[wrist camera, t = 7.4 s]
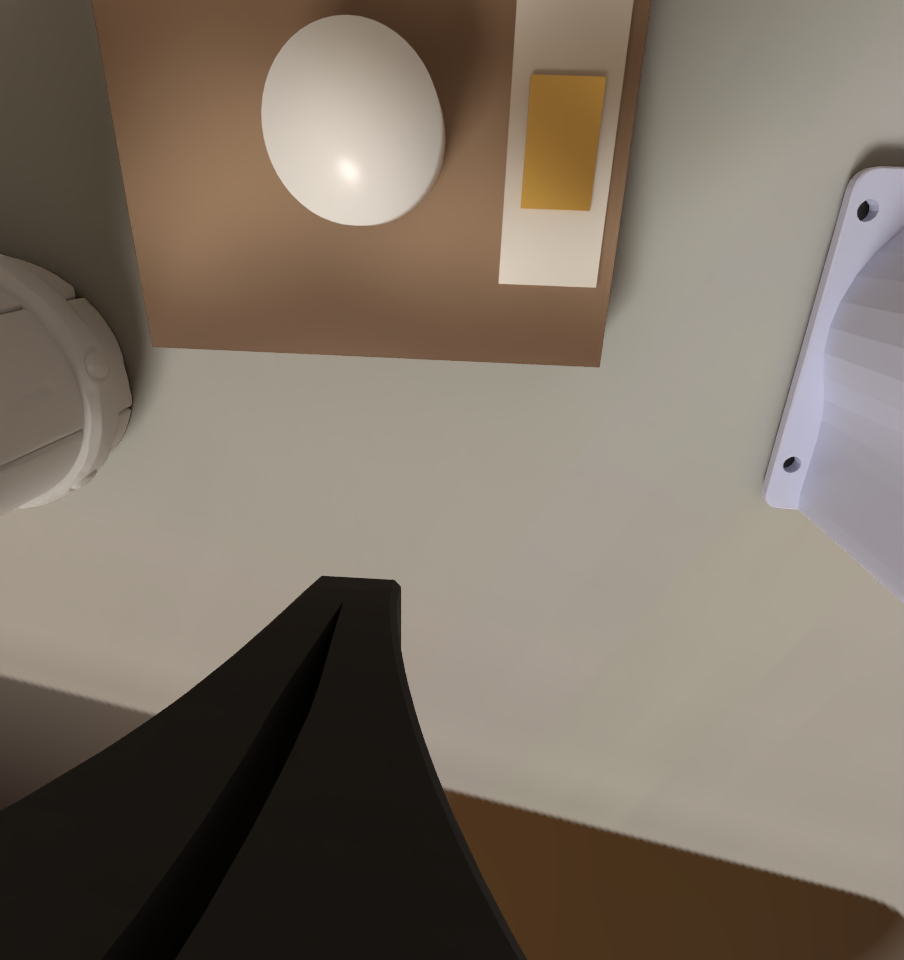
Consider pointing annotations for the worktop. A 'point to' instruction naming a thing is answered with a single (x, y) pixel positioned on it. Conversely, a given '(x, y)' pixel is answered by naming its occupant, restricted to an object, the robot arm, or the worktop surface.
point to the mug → (54, 387)
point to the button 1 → (353, 121)
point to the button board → (415, 237)
